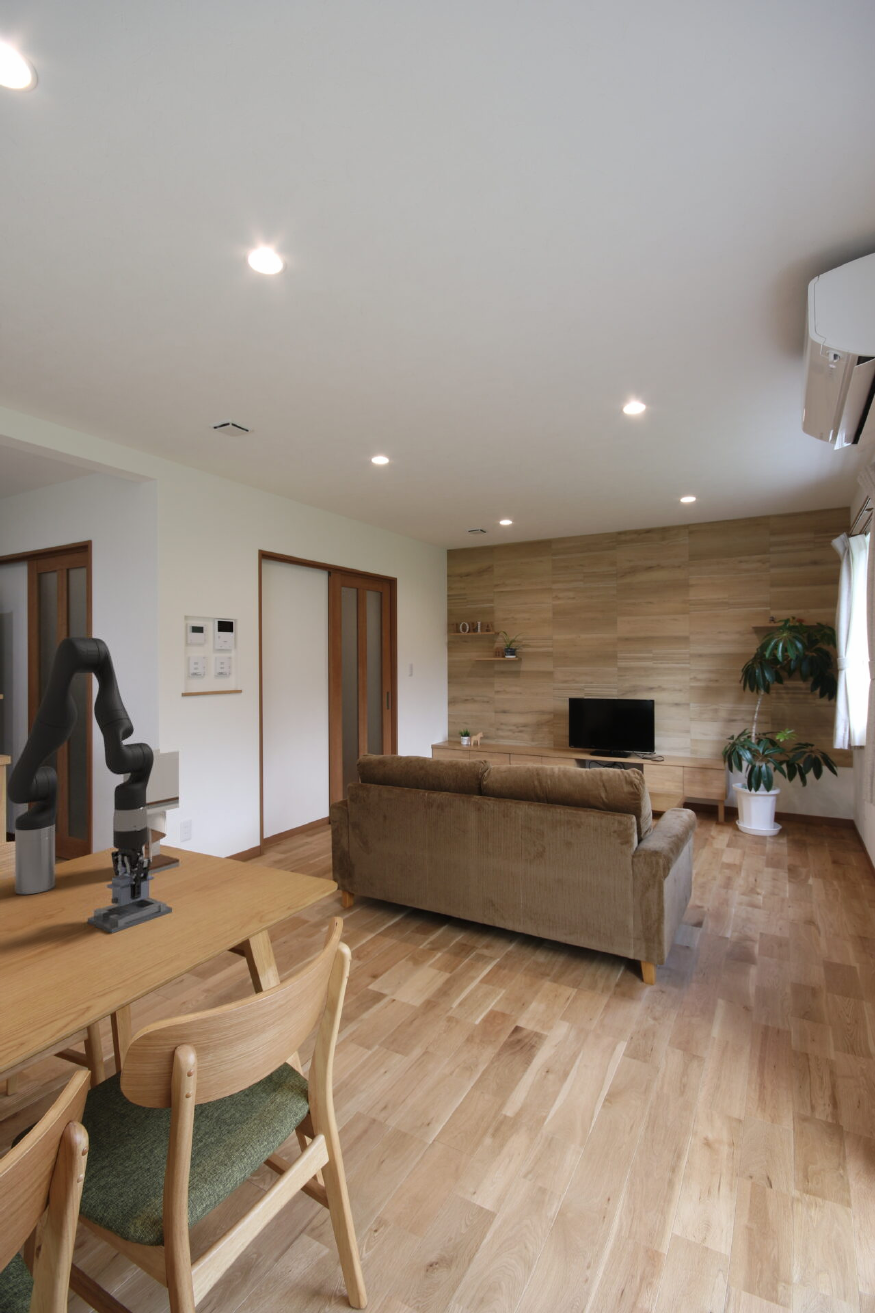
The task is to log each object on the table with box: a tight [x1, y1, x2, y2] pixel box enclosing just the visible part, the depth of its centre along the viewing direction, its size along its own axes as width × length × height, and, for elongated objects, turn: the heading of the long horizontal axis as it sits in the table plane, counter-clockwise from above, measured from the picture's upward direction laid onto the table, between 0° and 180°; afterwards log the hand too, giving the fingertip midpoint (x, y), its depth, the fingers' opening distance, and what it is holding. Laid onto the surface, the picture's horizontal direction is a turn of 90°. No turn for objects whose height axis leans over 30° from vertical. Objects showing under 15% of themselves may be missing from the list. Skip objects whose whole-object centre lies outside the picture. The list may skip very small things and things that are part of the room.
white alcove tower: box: [122, 748, 180, 876], centre depth 191 cm, size 11×11×35 cm
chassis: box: [87, 896, 173, 934], centre depth 153 cm, size 15×11×2 cm
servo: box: [106, 868, 155, 906], centre depth 153 cm, size 10×4×7 cm, turn 146°
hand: (130, 896), depth 153 cm, fingers closed on servo, 4 cm apart
